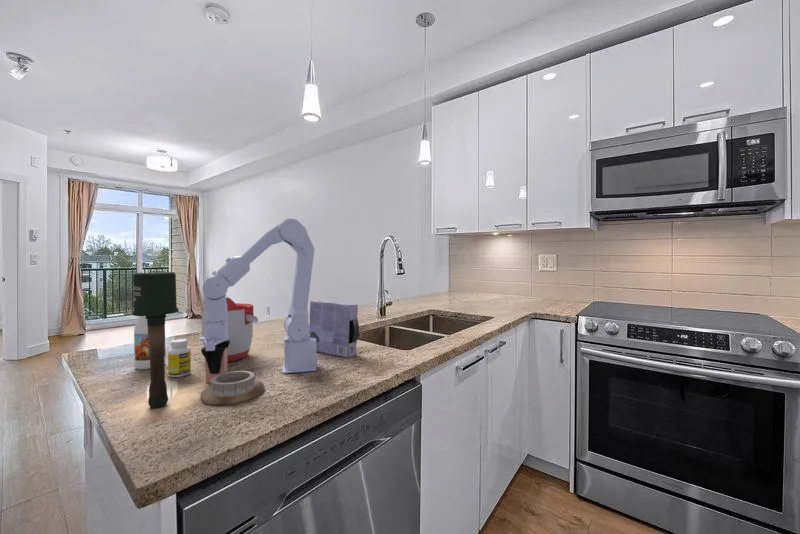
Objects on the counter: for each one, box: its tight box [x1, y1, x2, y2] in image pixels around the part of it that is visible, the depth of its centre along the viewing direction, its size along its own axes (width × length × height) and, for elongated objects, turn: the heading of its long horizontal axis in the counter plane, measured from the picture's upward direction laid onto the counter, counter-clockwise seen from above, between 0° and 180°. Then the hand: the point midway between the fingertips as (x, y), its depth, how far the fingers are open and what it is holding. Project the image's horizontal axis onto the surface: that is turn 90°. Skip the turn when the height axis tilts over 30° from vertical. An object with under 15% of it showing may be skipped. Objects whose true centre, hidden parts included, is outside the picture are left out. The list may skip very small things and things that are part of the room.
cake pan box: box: [308, 299, 360, 359], centre depth 122 cm, size 19×5×18 cm, turn 60°
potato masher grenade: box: [131, 271, 180, 409], centre depth 79 cm, size 8×9×30 cm
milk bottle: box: [133, 316, 167, 371], centre depth 107 cm, size 8×8×20 cm
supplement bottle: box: [167, 338, 192, 378], centre depth 100 cm, size 5×5×10 cm
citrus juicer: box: [200, 296, 259, 362], centre depth 116 cm, size 16×17×20 cm
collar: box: [200, 370, 265, 406], centre depth 87 cm, size 14×14×4 cm
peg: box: [204, 348, 229, 384], centre depth 96 cm, size 4×4×8 cm
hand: (216, 370), depth 96 cm, fingers closed on peg, 4 cm apart
